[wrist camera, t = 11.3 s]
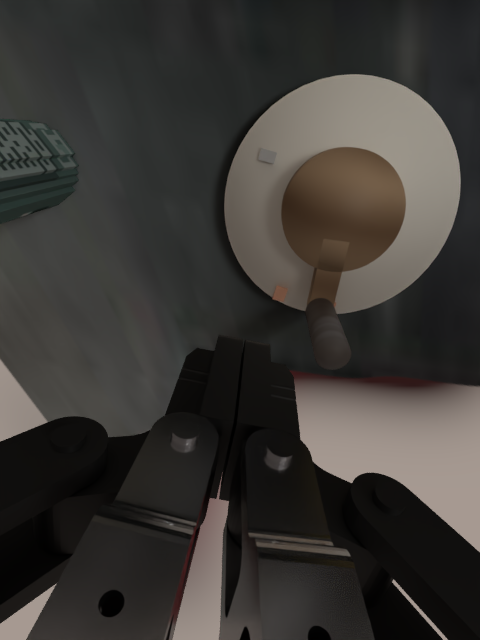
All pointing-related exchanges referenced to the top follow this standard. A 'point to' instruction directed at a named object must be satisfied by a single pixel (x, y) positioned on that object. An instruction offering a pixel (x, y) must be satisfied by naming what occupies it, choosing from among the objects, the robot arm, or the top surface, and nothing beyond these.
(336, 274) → the brown disc with handle
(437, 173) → the dial base
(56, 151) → the green patterned block
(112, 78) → the top surface
